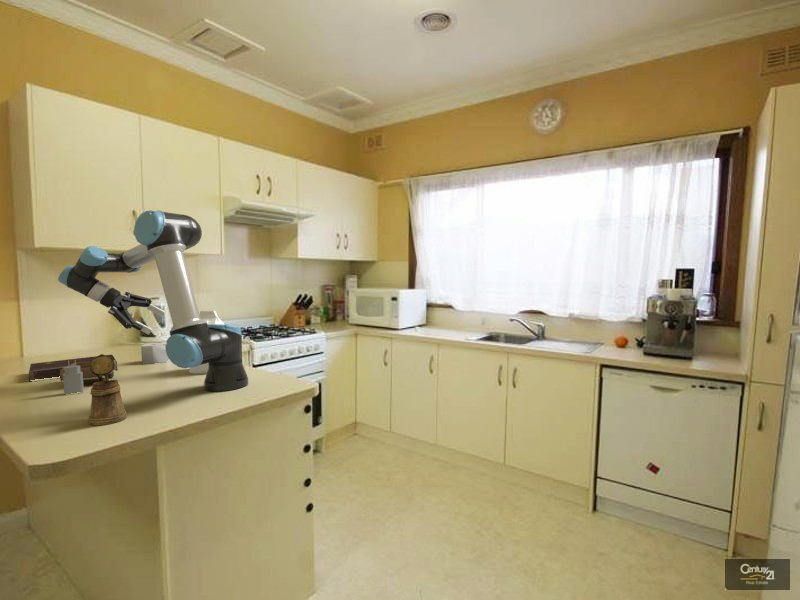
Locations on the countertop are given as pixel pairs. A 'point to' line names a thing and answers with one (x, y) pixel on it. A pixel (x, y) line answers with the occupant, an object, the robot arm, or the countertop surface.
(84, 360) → the brown wooden tray
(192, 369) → the milk
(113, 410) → the brown bell-shaped piece
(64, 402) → the countertop surface
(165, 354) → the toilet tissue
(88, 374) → the cart
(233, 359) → the robot arm
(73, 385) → the power adapter
